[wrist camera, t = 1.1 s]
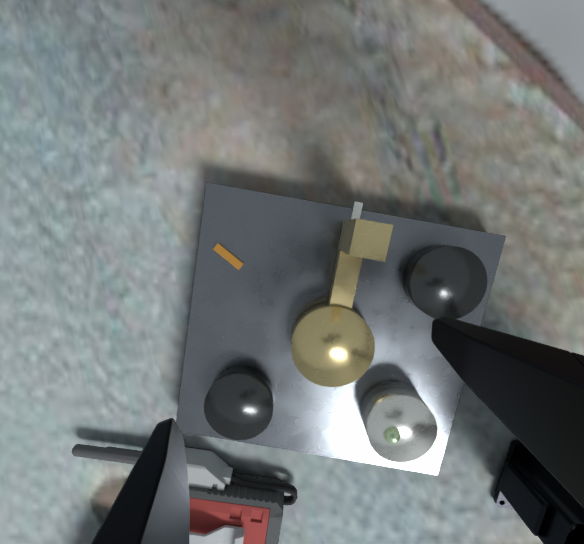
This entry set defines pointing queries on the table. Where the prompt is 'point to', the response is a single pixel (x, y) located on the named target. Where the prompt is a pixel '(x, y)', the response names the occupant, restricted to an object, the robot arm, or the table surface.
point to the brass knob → (341, 313)
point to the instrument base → (312, 291)
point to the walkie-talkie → (219, 497)
